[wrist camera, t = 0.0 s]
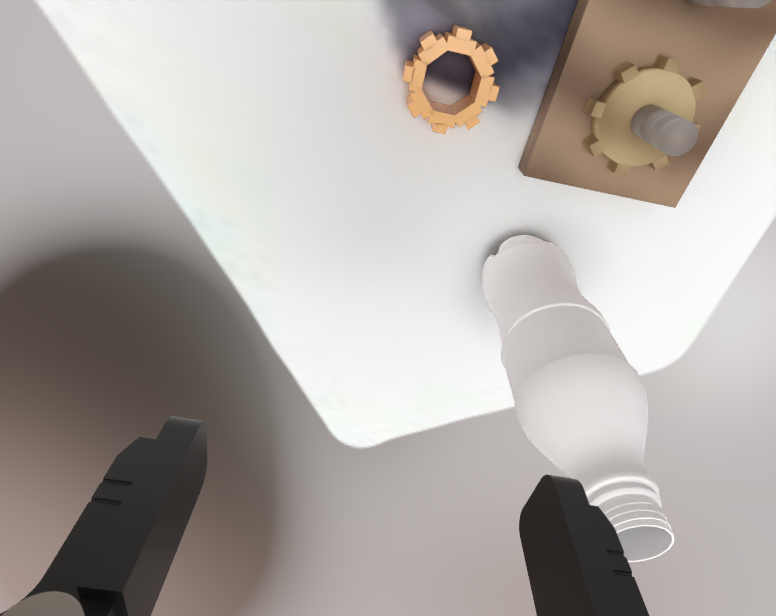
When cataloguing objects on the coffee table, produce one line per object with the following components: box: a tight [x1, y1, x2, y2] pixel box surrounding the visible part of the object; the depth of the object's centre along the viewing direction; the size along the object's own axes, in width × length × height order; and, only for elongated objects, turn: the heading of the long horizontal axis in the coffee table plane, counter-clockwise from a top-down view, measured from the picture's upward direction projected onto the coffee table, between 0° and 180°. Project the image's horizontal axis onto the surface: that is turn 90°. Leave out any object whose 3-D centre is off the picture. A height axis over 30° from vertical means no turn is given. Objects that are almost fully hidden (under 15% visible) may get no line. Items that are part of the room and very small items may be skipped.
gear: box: [403, 25, 500, 134], centre depth 32 cm, size 6×6×3 cm
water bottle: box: [482, 235, 674, 562], centre depth 31 cm, size 7×7×25 cm
